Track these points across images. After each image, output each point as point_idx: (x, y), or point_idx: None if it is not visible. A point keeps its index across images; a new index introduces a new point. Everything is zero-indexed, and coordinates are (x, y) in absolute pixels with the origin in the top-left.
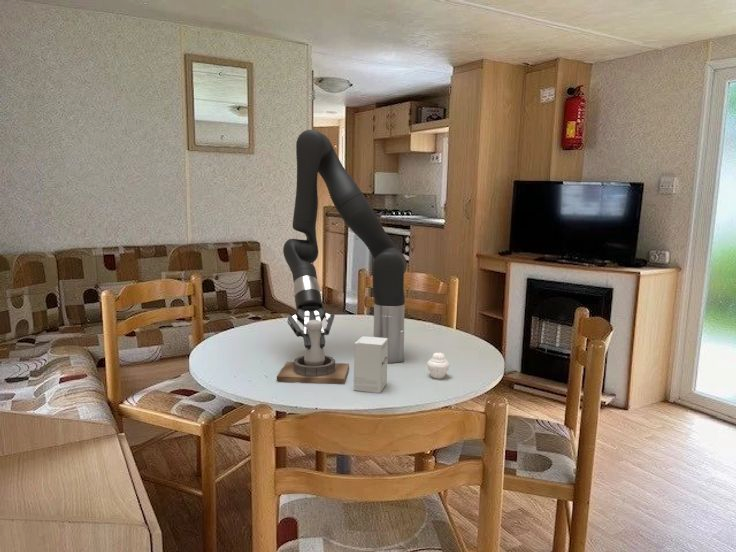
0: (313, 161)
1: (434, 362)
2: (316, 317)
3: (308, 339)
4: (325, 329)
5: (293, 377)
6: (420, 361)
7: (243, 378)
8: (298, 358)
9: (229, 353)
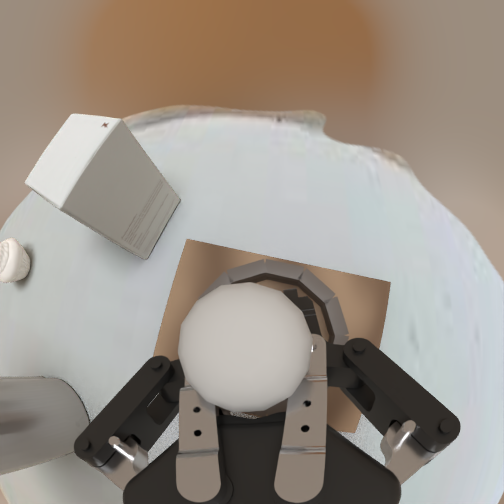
0: None
1: (9, 246)
2: (209, 442)
3: None
4: (173, 376)
5: (340, 272)
6: (21, 368)
7: (461, 320)
8: None
9: (464, 498)
